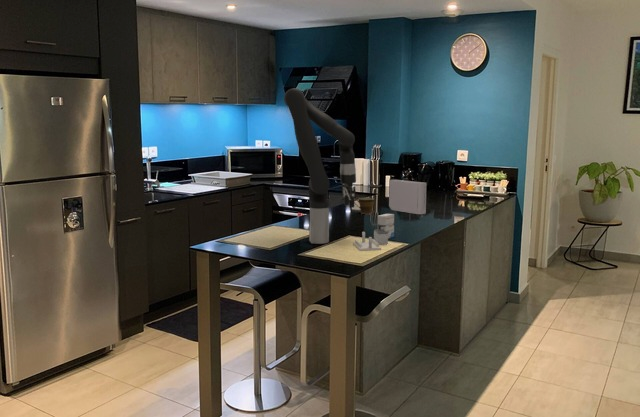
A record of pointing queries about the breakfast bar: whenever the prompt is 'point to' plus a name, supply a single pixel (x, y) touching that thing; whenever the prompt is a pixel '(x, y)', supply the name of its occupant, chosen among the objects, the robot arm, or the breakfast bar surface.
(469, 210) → the breakfast bar surface
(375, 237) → the drive
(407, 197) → the game console
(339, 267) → the breakfast bar surface
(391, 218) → the ink box
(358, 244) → the grey peg stand
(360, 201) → the ceramic cup
